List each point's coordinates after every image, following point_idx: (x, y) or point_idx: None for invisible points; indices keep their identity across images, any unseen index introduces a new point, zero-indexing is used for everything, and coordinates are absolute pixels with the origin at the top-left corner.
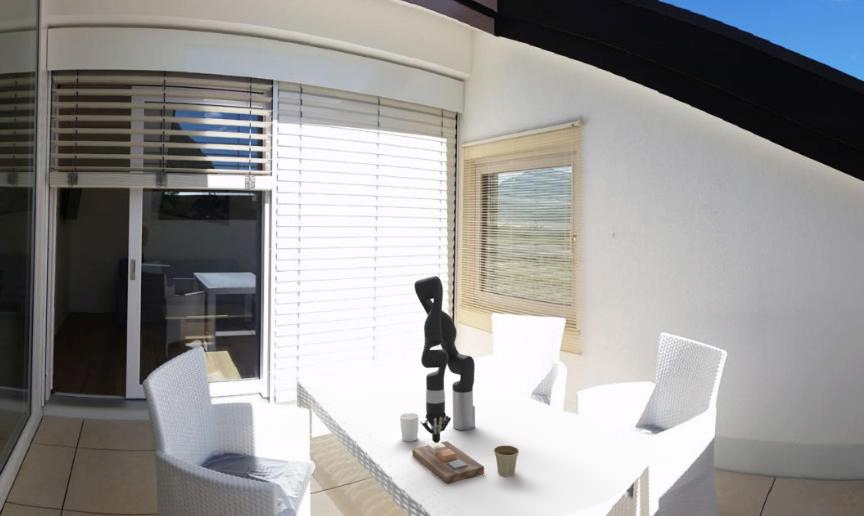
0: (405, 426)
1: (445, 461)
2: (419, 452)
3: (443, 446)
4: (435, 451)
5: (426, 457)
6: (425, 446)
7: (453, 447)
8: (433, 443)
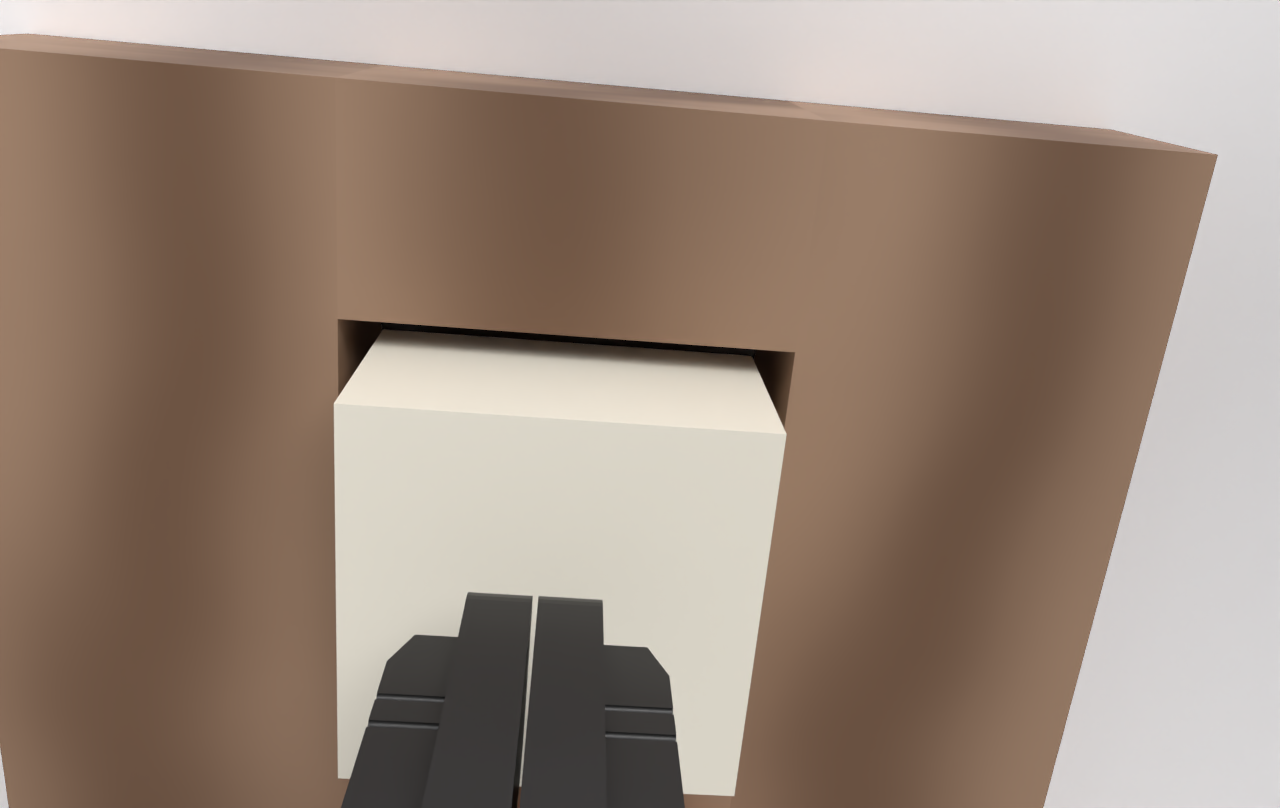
0: None
1: None
2: (30, 404)
3: None
4: None
5: (87, 754)
6: (395, 125)
7: (1019, 639)
8: (535, 445)
